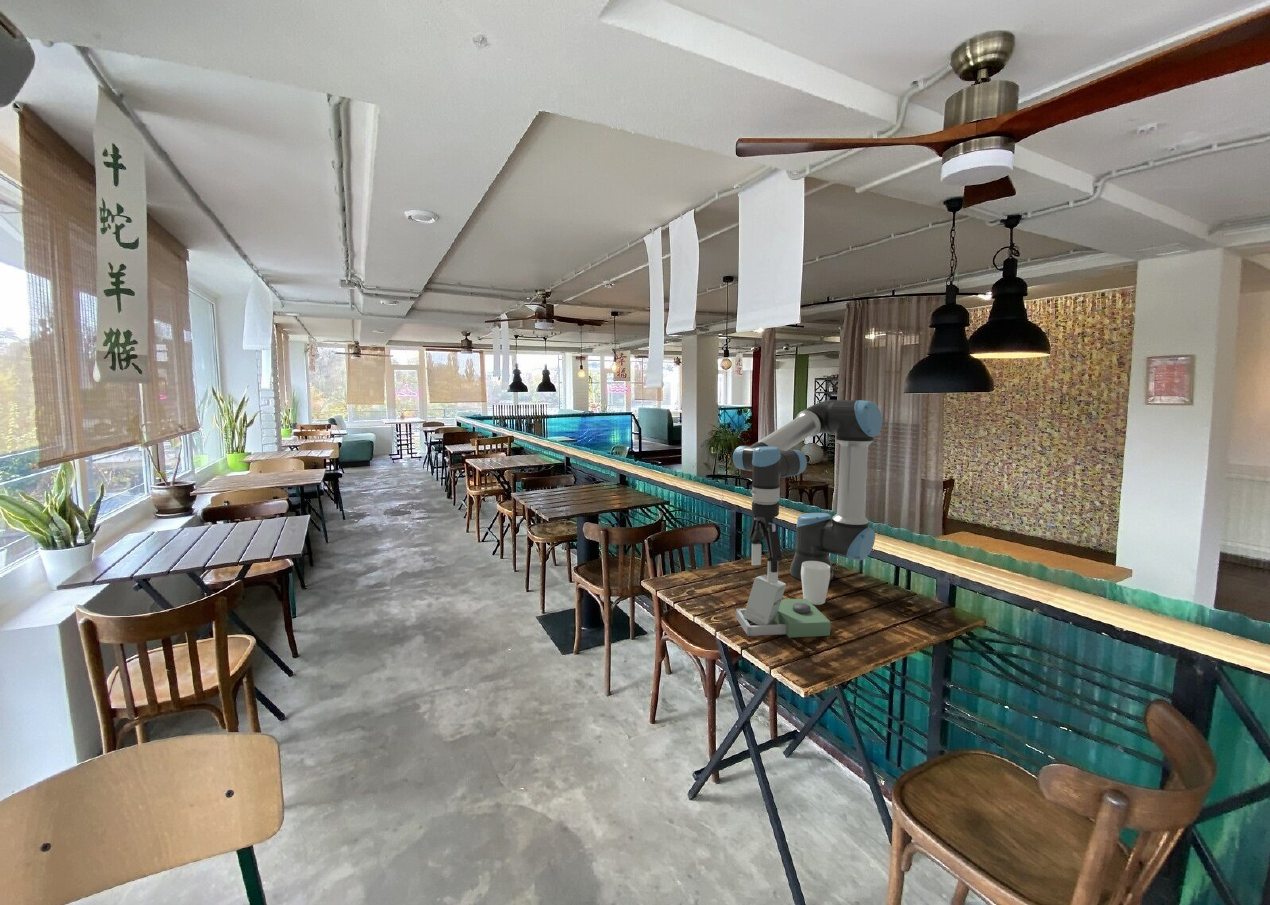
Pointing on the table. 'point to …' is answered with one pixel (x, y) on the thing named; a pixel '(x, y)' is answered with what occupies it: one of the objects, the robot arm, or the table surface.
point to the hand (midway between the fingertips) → (763, 573)
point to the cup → (815, 581)
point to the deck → (790, 621)
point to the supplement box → (764, 601)
